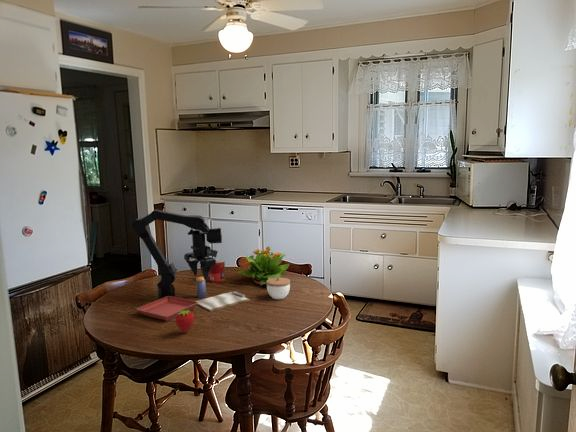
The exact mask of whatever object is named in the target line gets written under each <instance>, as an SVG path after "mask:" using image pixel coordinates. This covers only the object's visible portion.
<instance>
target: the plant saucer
mask: <svg viewBox="0 0 576 432" xmlns="http://www.w3.org/2000/svg"><path fill="white" fill-rule="evenodd" d="M195 301H196V300H190V299H185V298H182V297H176V296H174V297H172V296H166V297H164V298H161V299H157V300H155V301H152V302H148V303H147V304H145V305H142V306H139V307H137V308H136V310H137V312H138V313H140V314H142V316H147V317H150V318H153V319H154V318H155V319H159V320H162V321H167V322H169V321H171V320H172V319H176V317H177V316H178V313H181V312H179V311H183V310H184V311H187V310H188V311H192V310H194V308H195V307H196V306H198V305H197V303H198V302H195ZM185 307H186V308H185ZM184 308H185V309H184Z"/></svg>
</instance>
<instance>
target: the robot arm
mask: <svg viewBox="0 0 576 432" xmlns="http://www.w3.org/2000/svg"><path fill="white" fill-rule="evenodd" d="M156 220H158V221H165V222H169V223H174V224H179V225H183V226H185V227H188V228H189V229H190V230H189V231H188V232H187V236H190V235H191V236H192V237H191V240H192V241H191V242H192V243H191V244H192V245H191V246H190V249H192V252H191V251H190V252H188V253H187V252H186V253H185V254H184V256H183V257H184V260H185V262H186V263H187V265H188V266H189V269H190V271H191V272H192V274H193V275H194V276H195V277H196V276H197V275H198V263H199V264H200V266H199V268H200V270H201V273H202V274H201V275H202V277H204V280H205V281H206V280H208V277H209V275H210V274H209V271H210V268H211V267H212V266H214V265H216V260H215V259H214V258H217V256H218V252H219V251H218V250H216V249H213V248H211V246H208V245H206V242H207V243H208V244H223V234H222V227H217V228H210V227H209V226H208V224H207V223H206V221H205V218H204V216H202V215H196V214H195V215H194V214H193V215H192V214H191V215H189V214H188V215H184V214H179V213H174V212H169V211H164V210H160V209H154V210H153V211H151V212H150V213H148V214H146V215H145V216H144V217H138V218H136V219H135V220H134V221H132V222H131V229H132V231H133V232H134V233H135V234H136V236H137V237H139V238H140V239H141V240H142V241H143V243H144V244H145V246H146V249H148V252H149V253H150V255H151V256H152V258H153V260H154V262H155V263H156V266H157V267H158V270H159V275H160V279H159V281H158V282H157V284H156V285H157V297H156V299H157V300H159V299H161V298H164V297H166V296H172V297H176V288H175V287H174V284H173V283H174V282H175V280H176V278H177V276H178V272H177V271H178V269H177V268H176V266H175V265H174V262H171V263H169V262H168V261H167V259H166V257H165V255H164V254H163V252H162V250H161V249H160V247H159V246H158V244H157V242H156V239H155V238H154V237H153V235H152V232H151V227H150V224H151V223H153V222H155V221H156Z"/></svg>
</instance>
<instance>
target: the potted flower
mask: <svg viewBox="0 0 576 432" xmlns="http://www.w3.org/2000/svg"><path fill="white" fill-rule="evenodd" d="M252 253H253V254H252V255H249V256H248V255H245V258H246V260H247V262H248V263H249V264H250V265H249V268H246V269H241V270H239V271H237V273H238V274H240V275H244V276H246V277H248V278H252V280H253V282H254V283H255V284H257V285H260V286H263V285H267V283H266V281H267V280H268V279H271V278H277V277H282V276H283V277H284V275H285V273H286V271H287V269H289V266H290V263H285V264H282V262H283V258H284V257H285V256H287V254H284V253H281V252H275V253H274V252H273V251H271V246H266V248H265V249H262V250H260V249H258V248H257V249H256V250H253V252H252Z"/></svg>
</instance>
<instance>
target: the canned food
mask: <svg viewBox="0 0 576 432" xmlns="http://www.w3.org/2000/svg"><path fill="white" fill-rule="evenodd" d="M213 258H214V259H215V260H216V265H214V266H212V267H211V268H210V271H209V274H208V275H209V281H210V283H216V284H217V283H223V282H225V281H226V263H225V262H226V261H225V258H223V257H216V258H215V257H213Z"/></svg>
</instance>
